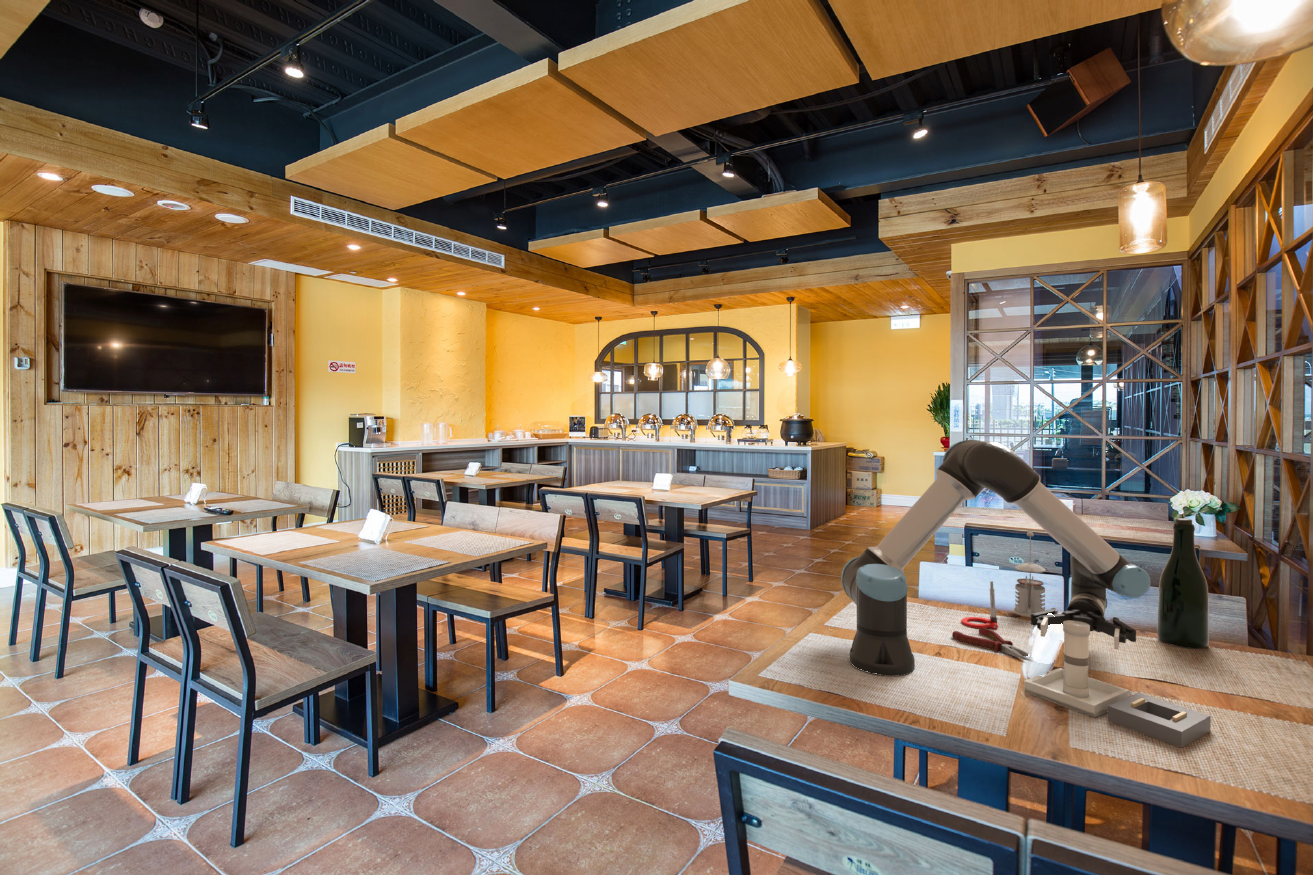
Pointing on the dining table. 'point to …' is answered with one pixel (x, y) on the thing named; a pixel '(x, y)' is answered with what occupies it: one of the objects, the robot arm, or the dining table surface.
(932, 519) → the robot arm
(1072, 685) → the cylinder
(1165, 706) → the fuse socket
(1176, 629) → the dark green wine bottle
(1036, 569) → the french press
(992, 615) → the tow hook
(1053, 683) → the parts tray
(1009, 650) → the pliers
